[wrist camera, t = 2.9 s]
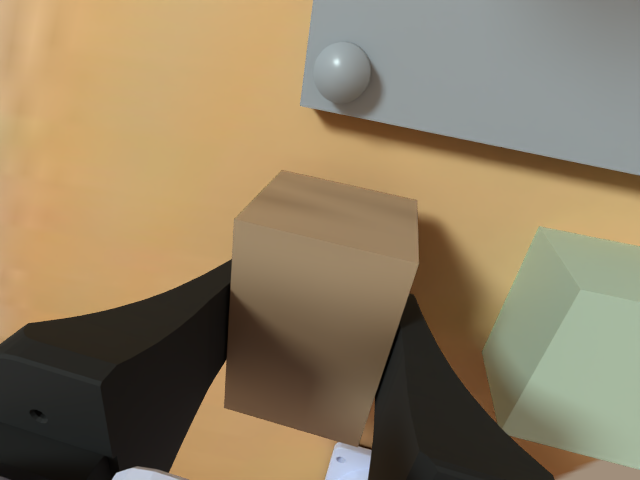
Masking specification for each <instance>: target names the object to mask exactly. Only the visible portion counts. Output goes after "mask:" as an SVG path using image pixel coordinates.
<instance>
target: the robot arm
mask: <svg viewBox="0 0 640 480" xmlns="http://www.w3.org/2000/svg"><path fill="white" fill-rule="evenodd" d="M231 268H232V259H231V260H229V261H228V262H226V263H224V264H222V265H221V266H219V267H217V268H215V269H213V270H211V271H209V272H208V273H206V274H204V275H202V276H200V277H198V278H196V279H194V280H191V281H189V282H187V283H185V284H183V285H181V286H179V287H177V288H174V289H172V290H169V291H167V292H164V293H162V294H159V295H156V296H153V297H151V298H148V299H145V300H142V301H138V302H135V303H131V304H128V305H125V306H121V307H118V308H114V309H110V310H106V311H101V312H97V313H92V314H87V315H82V316H77V317H71V318H64V319H57V320H50V321H43V322H35V323H28V324H27V325H25V326H24V327H22V328H21V329H20V330H18V331H17V332H16V333H14V334H13V335H12V336H10V337H9V338H8V339H6V340H5V341H4V342H2V343H1V344H0V480H189V479H186V478H182V477H179V476H176V475H173V474H170V473H169V471H170V469H171V467H172V464H173V462H174V460H175V458H176V455H177V453H178V451H179V449H180V446H181V444H182V442H183V440H184V438H185V436H186V434H187V432H188V429H189V427H190V425H191V423H192V421H193V419H194V417H195V415H196V413H197V411H198V409H199V407H200V405H201V403H202V401H203V399H204V397H205V395H206V393H207V391H208V389H209V387H210V385H211V384H212V382H213V380H214V378H215V377H216V375H217V374H218V372H219V370H220V369H221V367H222V366H223V364H224V363H225V361H226V359H227V344H228V325H229V306H230V287H231ZM325 480H554V477H553V475H552V474H551V473H550V472H548V471H547V470H546V469H545V468H544V467H543V466H542V465H540V464H539V463H538V462H537V461H536V460H535V459H534V458H532V457H531V456H530V455H529V454H528V453H527V452H526V451H524V450H523V449H522V448H521V447H520V446H519V445H518V444H517V443H516V442H515V441H514V440H513V439H512V438H511V437H510V436H509V435H508V434H507V433H506V432H505V431H504V430H503V429H502V428H501V427H500V426H499V425H498V424H497V423H496V422H495V421H494V420H493V419H492V418H491V417H490V416H489V415H488V414H487V413H486V411H485V410H484V409H483V408H482V407H481V406H480V404H479V403H478V402H477V401H476V400H475V399H474V398H473V396H472V395H471V394H470V393H469V391H468V390H467V389H466V388H465V386H464V385H463V384H462V382H461V381H460V379H459V378H458V377H457V375H456V374H455V373H454V371H453V370H452V368H451V367H450V365H449V363H448V362H447V360H446V358H445V357H444V355H443V354H442V352H441V350H440V348H439V347H438V345H437V343H436V341H435V339H434V337H433V335H432V333H431V331H430V329H429V327H428V325H427V323H426V321H425V319H424V317H423V315H422V312H421V310H420V308H419V305H418V303H417V300H416V298H415V296H414V295H413V294H409V295H408V298H407V301H406V304H405V307H404V310H403V313H402V316H401V319H400V322H399V325H398V328H397V331H396V334H395V337H394V340H393V343H392V346H391V349H390V352H389V355H388V358H387V361H386V364H385V367H384V370H383V373H382V376H381V379H380V382H379V385H378V388H377V391H376V394H375V415H374V435H373V444H372V450H370V449H366V448H363V447H360V446H358V447H355V446H351V445H348V444H344V443H341V442H338V443H336V444H335V446H334V449H333V453H332V456H331V460H330V463H329V467H328V470H327V474H326V477H325Z"/></svg>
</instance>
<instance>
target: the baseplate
mask: <svg viewBox="0 0 640 480" xmlns="http://www.w3.org/2000/svg"><path fill="white" fill-rule="evenodd" d="M300 106H303V107H308V108H313V109H318V110H323V111H328V112H333V113H338V114H342V115H347V116H352V117H357V118H362V119H367V120H372V121H377V122H381V123H386V124H391V125H396V126H401V127H406V128H411V129H416V130H420V131H425V132H430V133H435V134H440V135H445V136H450V137H455V138H459V139H464V140H469V141H474V142H479V143H484V144H489V145H494V146H498V147H503V148H508V149H513V150H518V151H523V152H528V153H533V154H537V155H542V156H547V157H552V158H557V159H562V160H567V161H572V162H576V163H581V164H586V165H591V166H596V167H601V168H606V169H611V170H615V171H620V172H625V173H630V174H635V175H640V0H313V6H312V14H311V22H310V30H309V38H308V46H307V54H306V62H305V70H304V78H303V86H302V94H301V102H300Z"/></svg>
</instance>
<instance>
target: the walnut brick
mask: <svg viewBox="0 0 640 480" xmlns="http://www.w3.org/2000/svg"><path fill="white" fill-rule="evenodd" d="M418 265H419V247H418V212H417V200H414V199H410V198H405V197H401V196H396V195H392V194H387V193H383V192H378V191H374V190H369V189H365V188H360V187H356V186H351V185H347V184H343V183H338V182H334V181H329V180H325V179H320V178H316V177H311V176H307V175H302V174H298V173H293V172H289V171H284V170H281V172H280V173H279V174H278V175H277V176H276V177H275V178H274V179H273V180H272V181H271V182H270V183H269V184H268V185H267V186H266V187H265V188H264V189H263V190H262V191H261V192H260V193H259V194H258V195H257V196H256V197H255V198H254V199H253V200H252V201H251V202H250V203H249V204H248V205H247V206H246V207H245V208H244V210H243V211H242V212H241V213H240V214H239V215H238V216H237V217H236V218H235V219H234V230H233V249H232V268H231V287H230V306H229V325H228V344H227V362H226V381H225V400H224V408H227V409H230V410H233V411H237V412H240V413H243V414H247V415H250V416H253V417H257V418H260V419H264V420H267V421H270V422H274V423H277V424H280V425H284V426H287V427H291V428H294V429H297V430H301V431H304V432H307V433H311V434H314V435H317V436H321V437H324V438H328V439H331V440H334V441H338V442H341V443H344V444H348V445H351V446H355V447H358V445H359V442H360V439H361V436H362V433H363V430H364V427H365V424H366V421H367V418H368V415H369V412H370V409H371V406H372V403H373V400H374V397H375V394H376V391H377V388H378V385H379V382H380V379H381V376H382V373H383V370H384V367H385V364H386V361H387V358H388V355H389V352H390V349H391V346H392V343H393V340H394V337H395V334H396V331H397V328H398V325H399V322H400V319H401V316H402V313H403V310H404V307H405V304H406V301H407V298H408V295H409V292H410V289H411V286H412V283H413V280H414V277H415V274H416V271H417V268H418Z"/></svg>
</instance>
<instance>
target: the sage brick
mask: <svg viewBox="0 0 640 480" xmlns="http://www.w3.org/2000/svg"><path fill="white" fill-rule="evenodd" d="M482 355H483V360H484V364H485V369H486V374H487V378H488V383H489V387H490V392H491V396H492V401H493V406H494V410H495V415H496V419H497V424H498V425H499V426H500V427H501V428H502V429H503V430H504V431H505V432H506V433H507V434H508V435H509V436H513V437H517V438H520V439H524V440H528V441H532V442H536V443H539V444H543V445H547V446H551V447H555V448H558V449H562V450H566V451H570V452H574V453H577V454H581V455H585V456H589V457H593V458H596V459H600V460H604V461H608V462H612V463H616V464H619V465H623V466H627V467H631V468H635V469H638V470H640V246H635V245H630V244H625V243H620V242H615V241H610V240H605V239H600V238H595V237H590V236H585V235H580V234H575V233H570V232H565V231H560V230H555V229H550V228H545V227H540V226H539V228H538V230H537V232H536V234H535V236H534V238H533V241H532V243H531V245H530V247H529V249H528V252H527V254H526V256H525V258H524V260H523V263H522V265H521V267H520V269H519V271H518V274H517V276H516V278H515V280H514V282H513V285H512V287H511V289H510V291H509V293H508V295H507V298H506V300H505V302H504V304H503V306H502V309H501V311H500V313H499V315H498V317H497V320H496V322H495V324H494V326H493V328H492V331H491V333H490V335H489V337H488V339H487V342H486V344H485V346H484V348H483V350H482Z"/></svg>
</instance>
